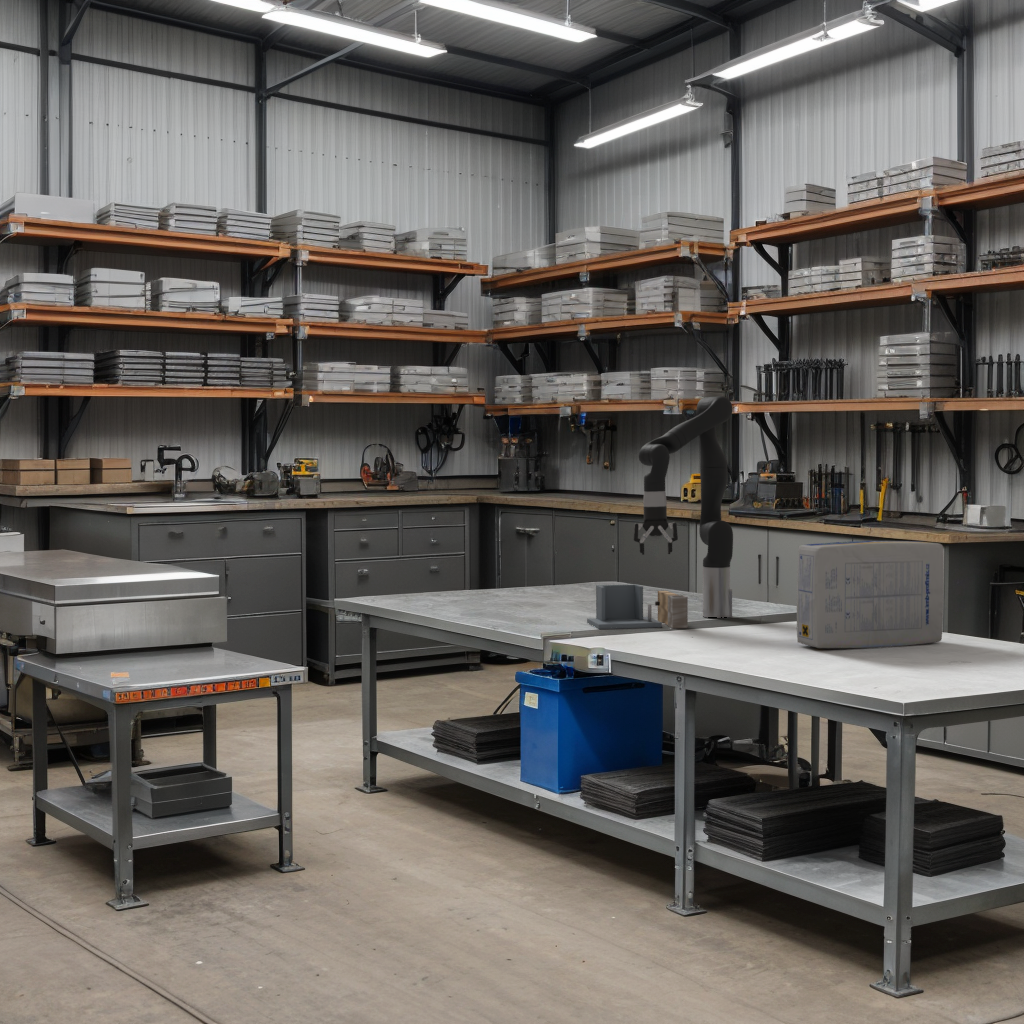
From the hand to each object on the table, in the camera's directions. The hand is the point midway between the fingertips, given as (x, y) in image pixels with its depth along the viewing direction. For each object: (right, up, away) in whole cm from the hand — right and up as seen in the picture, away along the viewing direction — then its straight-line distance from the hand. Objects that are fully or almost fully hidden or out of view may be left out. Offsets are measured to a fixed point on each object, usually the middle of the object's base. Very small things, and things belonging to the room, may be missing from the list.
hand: (655, 554), depth 400 cm
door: (+5, -23, -2) cm, 23 cm away
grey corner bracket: (-11, -23, -3) cm, 26 cm away
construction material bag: (+56, -25, -48) cm, 78 cm away
